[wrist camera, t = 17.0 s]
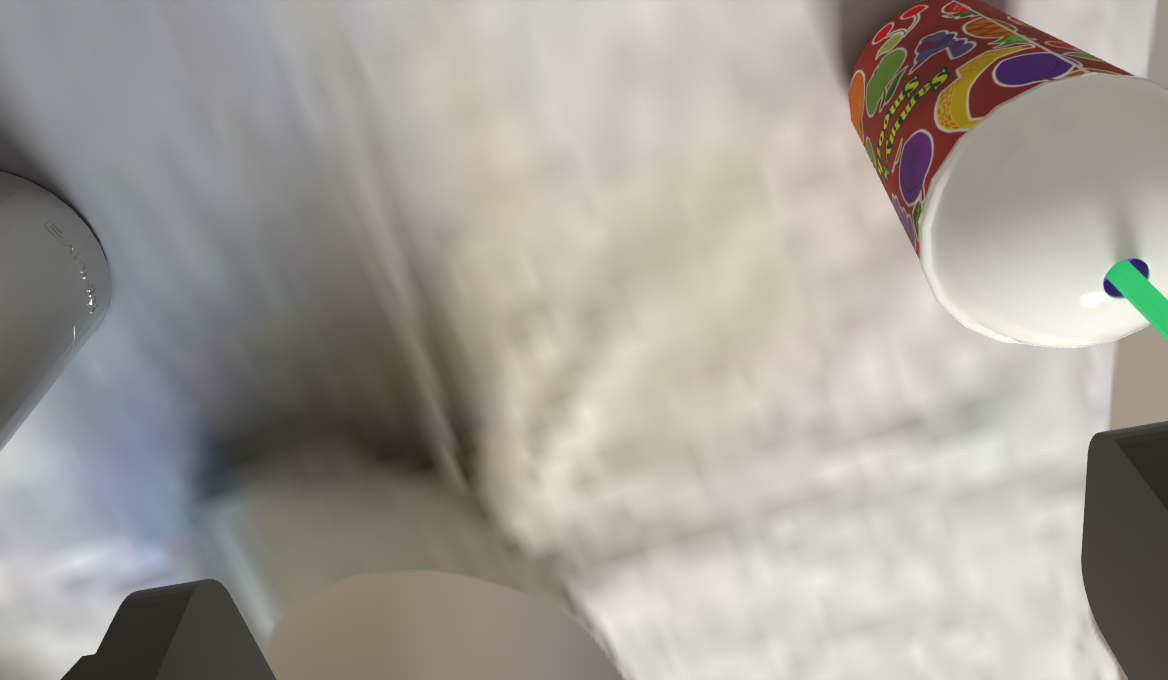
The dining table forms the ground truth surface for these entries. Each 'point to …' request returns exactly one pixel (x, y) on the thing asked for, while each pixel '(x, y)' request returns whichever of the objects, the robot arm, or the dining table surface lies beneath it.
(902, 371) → the dining table surface
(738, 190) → the dining table surface
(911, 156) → the smoothie
